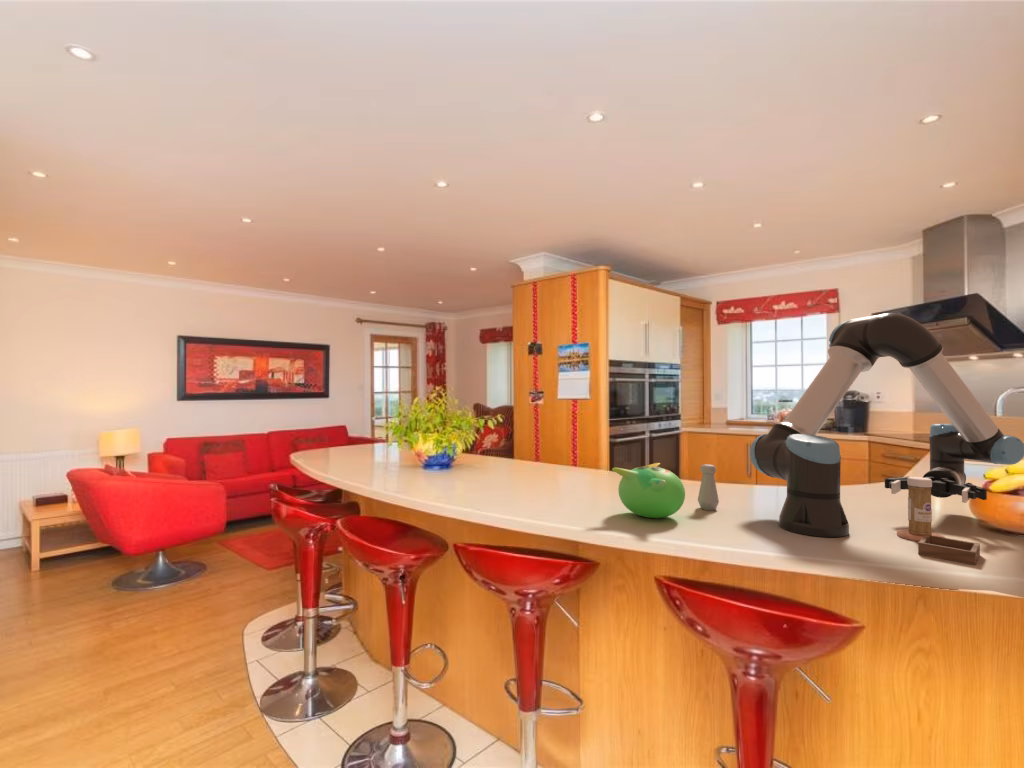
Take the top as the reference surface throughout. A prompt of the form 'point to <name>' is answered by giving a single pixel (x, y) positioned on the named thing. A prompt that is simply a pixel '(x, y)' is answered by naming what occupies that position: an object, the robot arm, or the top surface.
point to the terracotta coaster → (907, 535)
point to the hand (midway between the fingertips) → (927, 492)
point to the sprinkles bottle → (919, 506)
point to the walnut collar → (949, 549)
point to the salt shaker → (708, 488)
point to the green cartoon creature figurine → (650, 491)
